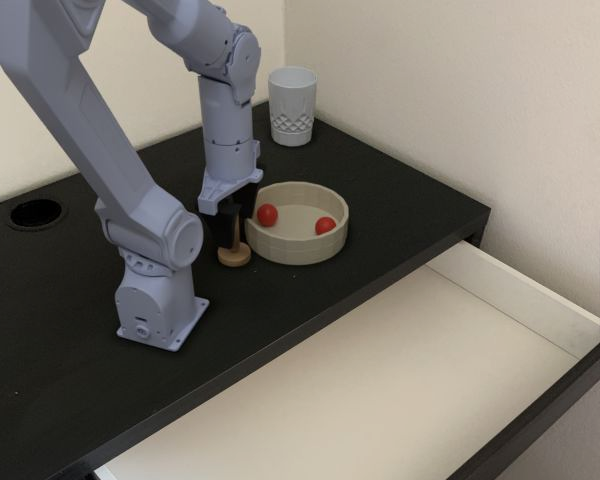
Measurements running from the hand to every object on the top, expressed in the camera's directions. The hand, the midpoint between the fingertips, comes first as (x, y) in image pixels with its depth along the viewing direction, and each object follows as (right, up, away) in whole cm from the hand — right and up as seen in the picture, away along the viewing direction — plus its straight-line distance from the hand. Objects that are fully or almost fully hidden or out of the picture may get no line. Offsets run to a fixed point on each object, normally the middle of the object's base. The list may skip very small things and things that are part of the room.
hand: (234, 231), depth 87 cm
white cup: (+7, +22, +25) cm, 34 cm away
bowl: (+8, +1, +6) cm, 10 cm away
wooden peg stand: (0, -3, +2) cm, 4 cm away
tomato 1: (+4, +4, +6) cm, 8 cm away
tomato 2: (+12, +2, +4) cm, 13 cm away
